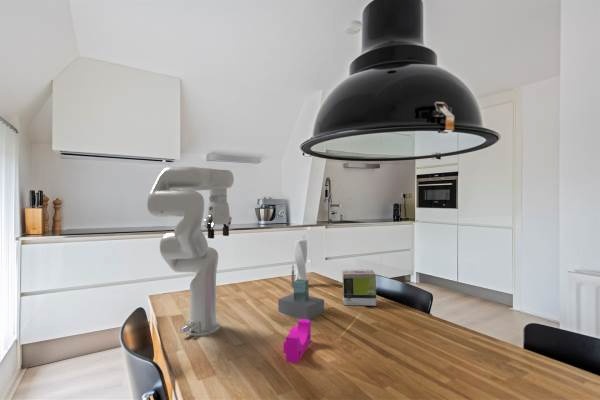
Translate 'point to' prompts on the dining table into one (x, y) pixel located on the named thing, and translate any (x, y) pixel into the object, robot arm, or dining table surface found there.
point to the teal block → (301, 290)
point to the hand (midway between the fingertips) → (218, 237)
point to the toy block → (297, 340)
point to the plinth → (301, 307)
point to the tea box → (359, 287)
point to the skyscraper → (300, 259)
